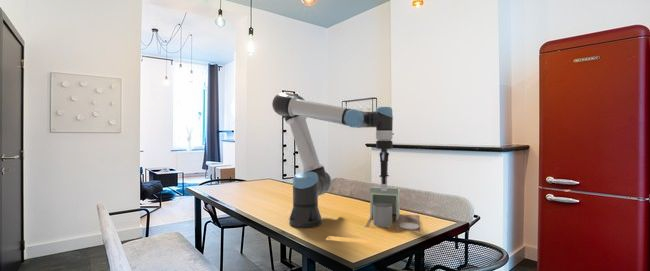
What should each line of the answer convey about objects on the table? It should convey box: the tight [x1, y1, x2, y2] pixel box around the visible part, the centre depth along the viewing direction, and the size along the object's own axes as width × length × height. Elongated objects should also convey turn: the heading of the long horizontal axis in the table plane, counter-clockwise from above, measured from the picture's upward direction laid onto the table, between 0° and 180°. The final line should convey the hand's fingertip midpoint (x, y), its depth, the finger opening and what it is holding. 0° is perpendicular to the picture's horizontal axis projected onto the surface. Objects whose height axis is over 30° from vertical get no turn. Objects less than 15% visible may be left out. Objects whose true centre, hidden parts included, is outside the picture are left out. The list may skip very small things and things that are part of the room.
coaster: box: [399, 223, 419, 229], centre depth 140 cm, size 9×9×1 cm
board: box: [364, 213, 421, 232], centre depth 149 cm, size 23×26×2 cm
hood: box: [369, 186, 401, 221], centre depth 156 cm, size 13×12×15 cm
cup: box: [372, 203, 393, 228], centre depth 143 cm, size 8×8×10 cm
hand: (384, 190), depth 149 cm, fingers closed
